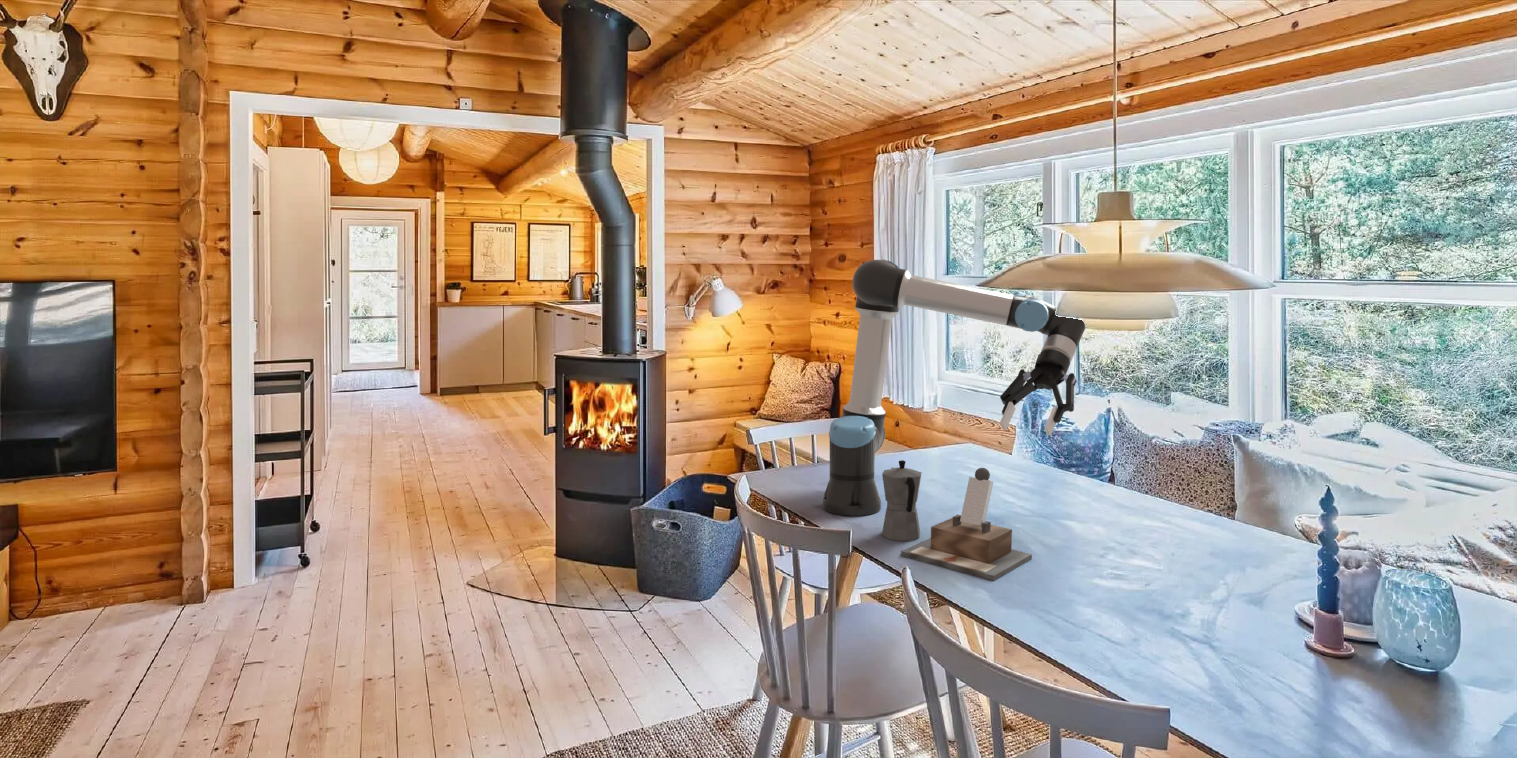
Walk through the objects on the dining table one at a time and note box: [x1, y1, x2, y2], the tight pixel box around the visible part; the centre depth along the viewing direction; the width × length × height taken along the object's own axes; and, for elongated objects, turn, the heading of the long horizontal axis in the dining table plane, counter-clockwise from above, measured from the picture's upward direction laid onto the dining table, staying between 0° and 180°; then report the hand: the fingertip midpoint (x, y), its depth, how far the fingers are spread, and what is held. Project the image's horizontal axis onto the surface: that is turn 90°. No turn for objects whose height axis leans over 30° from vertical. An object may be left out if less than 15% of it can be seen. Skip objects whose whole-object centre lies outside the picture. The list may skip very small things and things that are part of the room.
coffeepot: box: [881, 459, 923, 542], centre depth 193 cm, size 15×9×18 cm, turn 6°
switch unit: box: [900, 514, 1033, 581], centre depth 179 cm, size 22×17×8 cm
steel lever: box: [960, 467, 994, 527], centre depth 181 cm, size 5×3×13 cm, turn 47°
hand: (1024, 429), depth 196 cm, fingers open, 10 cm apart
